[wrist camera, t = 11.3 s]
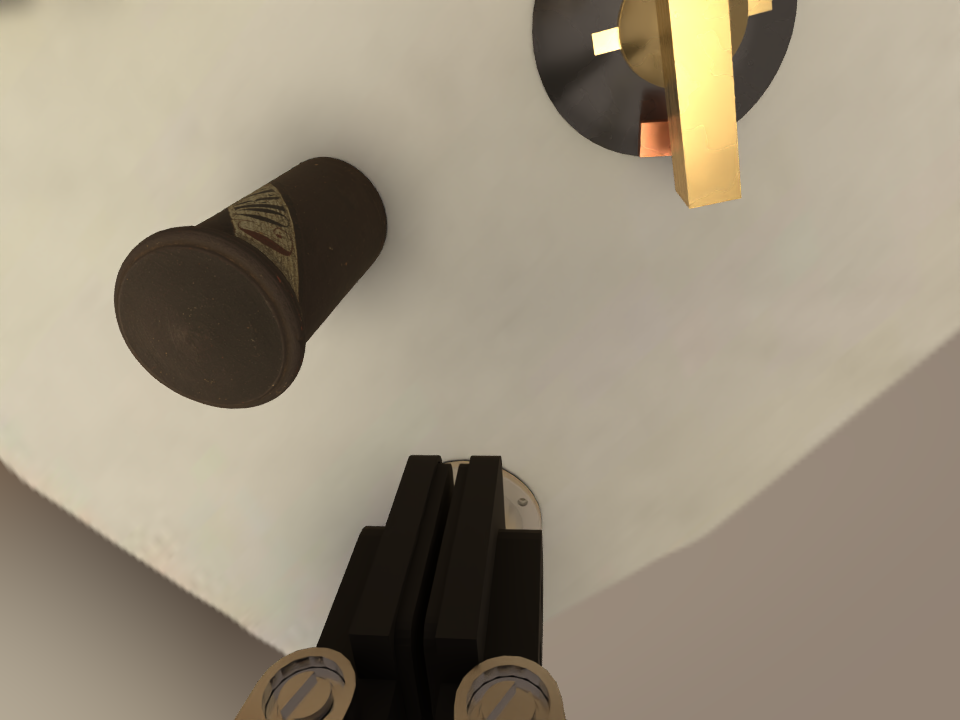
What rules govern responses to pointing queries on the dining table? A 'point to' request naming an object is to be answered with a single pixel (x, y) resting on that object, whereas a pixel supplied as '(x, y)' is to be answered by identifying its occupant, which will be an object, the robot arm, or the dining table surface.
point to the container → (249, 284)
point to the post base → (622, 93)
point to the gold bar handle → (690, 82)
